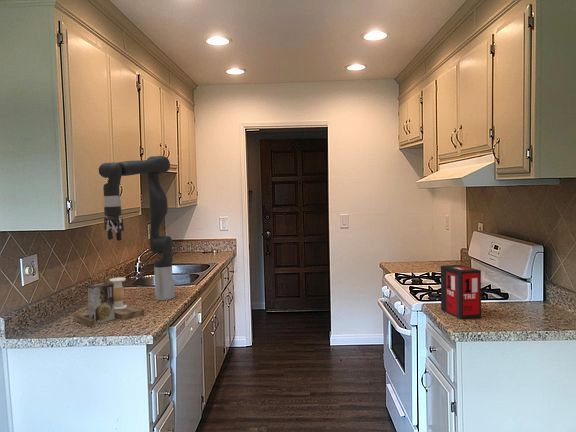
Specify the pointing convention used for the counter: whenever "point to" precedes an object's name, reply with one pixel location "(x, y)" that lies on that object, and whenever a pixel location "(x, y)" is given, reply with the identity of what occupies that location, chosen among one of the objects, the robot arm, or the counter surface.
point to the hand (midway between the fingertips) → (114, 239)
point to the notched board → (119, 314)
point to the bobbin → (118, 293)
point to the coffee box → (101, 302)
